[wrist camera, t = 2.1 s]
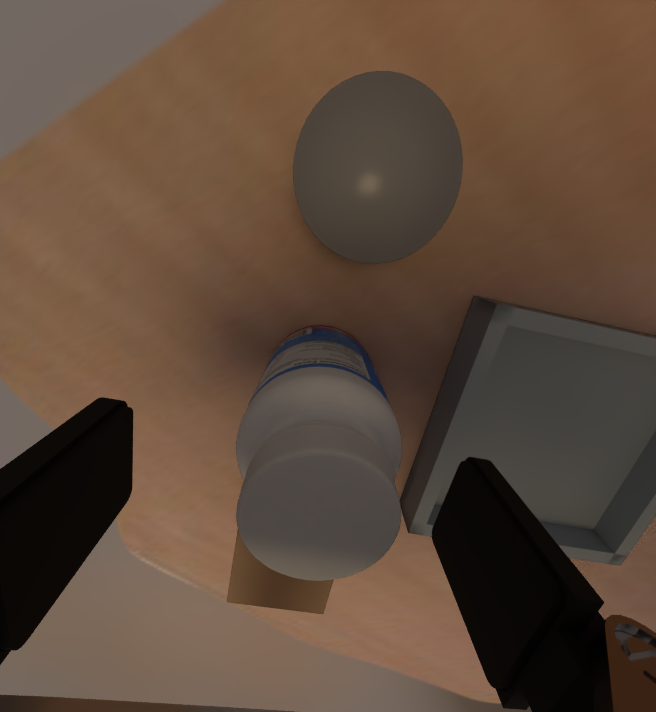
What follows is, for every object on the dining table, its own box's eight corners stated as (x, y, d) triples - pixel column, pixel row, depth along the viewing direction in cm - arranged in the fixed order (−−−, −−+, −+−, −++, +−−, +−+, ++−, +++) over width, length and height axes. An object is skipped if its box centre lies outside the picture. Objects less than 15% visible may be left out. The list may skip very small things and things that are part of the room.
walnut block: (339, 477, 19) (344, 543, 15) (322, 538, 21) (323, 614, 17) (257, 464, 19) (237, 527, 15) (246, 527, 20) (226, 602, 16)
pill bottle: (360, 424, 18) (399, 615, 9) (264, 410, 18) (198, 594, 8) (382, 331, 16) (460, 446, 7) (276, 313, 16) (209, 410, 7)
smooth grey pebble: (430, 148, 14) (488, 97, 9) (398, 267, 15) (431, 278, 10) (315, 118, 13) (310, 48, 8) (294, 244, 15) (280, 244, 10)
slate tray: (708, 347, 17) (763, 362, 15) (590, 533, 21) (620, 565, 19) (473, 295, 16) (497, 303, 13) (399, 502, 20) (408, 532, 18)
